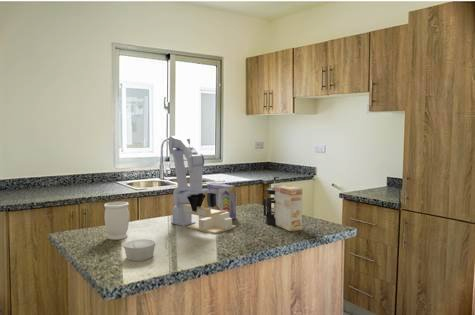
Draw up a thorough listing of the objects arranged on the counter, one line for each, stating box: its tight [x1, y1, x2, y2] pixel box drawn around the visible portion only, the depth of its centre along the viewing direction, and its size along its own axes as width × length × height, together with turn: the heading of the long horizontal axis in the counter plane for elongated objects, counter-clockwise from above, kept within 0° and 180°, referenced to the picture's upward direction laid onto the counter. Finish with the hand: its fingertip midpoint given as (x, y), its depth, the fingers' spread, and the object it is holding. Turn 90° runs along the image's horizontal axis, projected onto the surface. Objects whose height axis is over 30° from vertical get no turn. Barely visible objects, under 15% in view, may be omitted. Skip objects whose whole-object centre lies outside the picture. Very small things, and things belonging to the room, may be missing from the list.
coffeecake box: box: [273, 183, 303, 232], centre depth 186 cm, size 15×7×20 cm, turn 24°
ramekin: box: [123, 238, 156, 262], centre depth 144 cm, size 11×11×5 cm
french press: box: [263, 176, 280, 226], centre depth 194 cm, size 12×9×23 cm
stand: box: [186, 209, 237, 235], centre depth 186 cm, size 15×18×7 cm
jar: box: [103, 201, 130, 241], centre depth 170 cm, size 11×10×15 cm
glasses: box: [183, 204, 225, 217], centre depth 182 cm, size 12×16×4 cm
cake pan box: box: [206, 182, 237, 220], centre depth 208 cm, size 19×5×18 cm, turn 42°
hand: (196, 210), depth 178 cm, fingers closed on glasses, 2 cm apart
